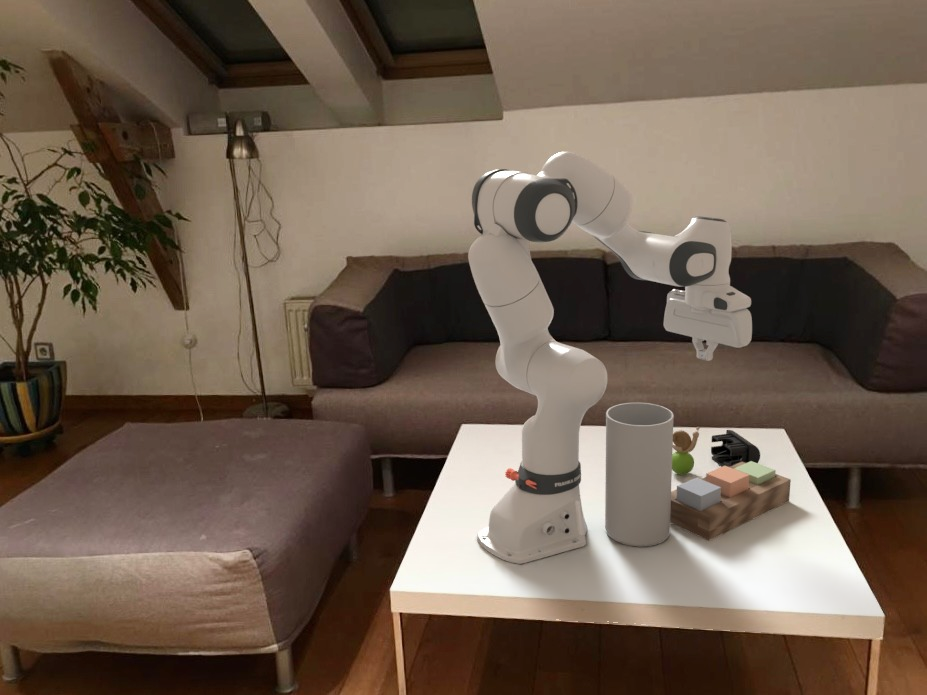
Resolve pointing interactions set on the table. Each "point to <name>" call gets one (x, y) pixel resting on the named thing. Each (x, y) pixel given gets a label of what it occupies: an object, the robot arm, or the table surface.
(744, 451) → the end cap
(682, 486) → the slate key
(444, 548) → the table surface
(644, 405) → the cylinder vase
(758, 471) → the sage key
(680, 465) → the snail figurine
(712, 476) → the terracotta key
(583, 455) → the table surface
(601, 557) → the table surface
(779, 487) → the key panel
